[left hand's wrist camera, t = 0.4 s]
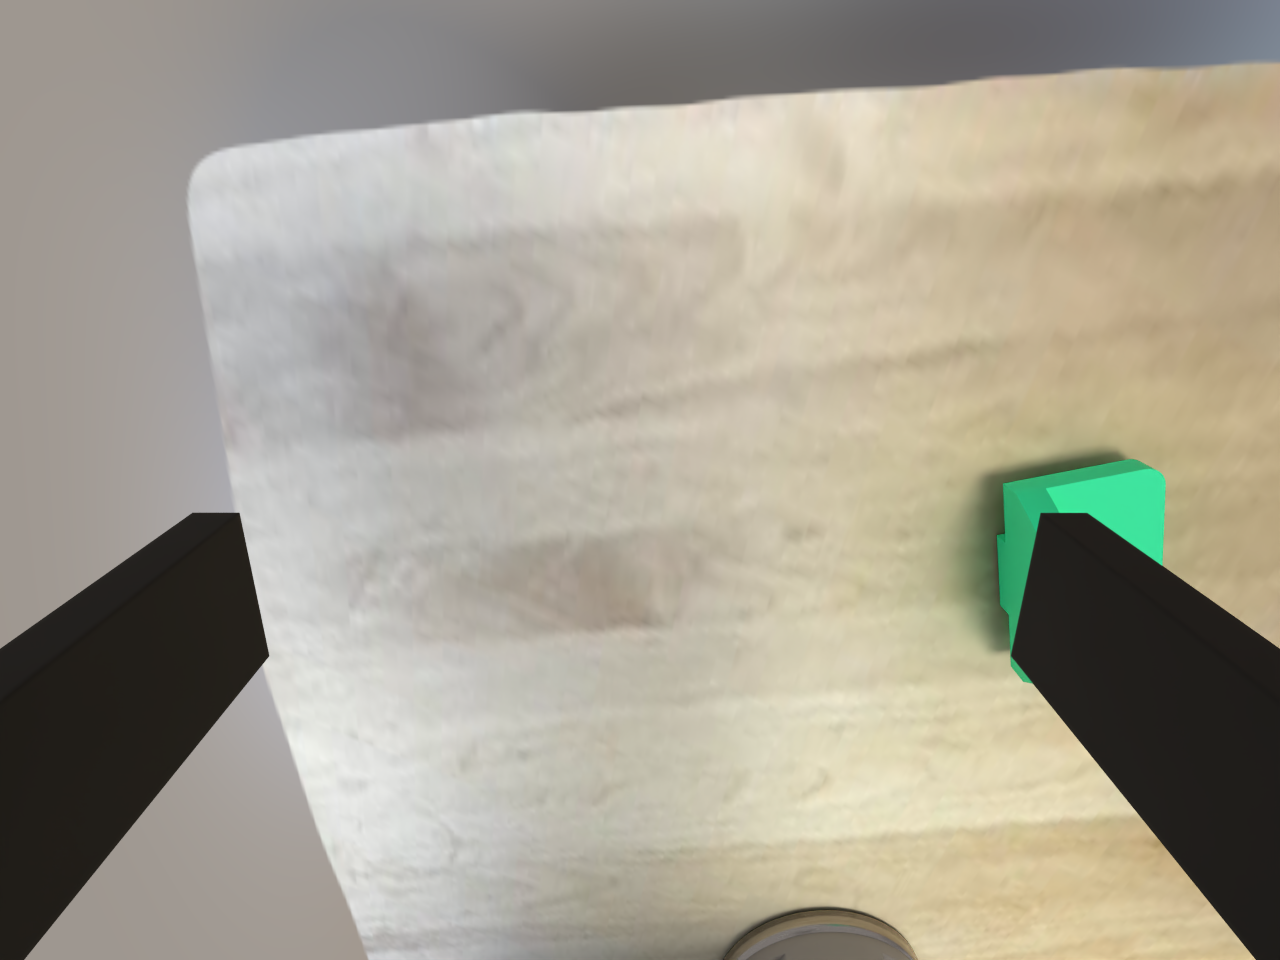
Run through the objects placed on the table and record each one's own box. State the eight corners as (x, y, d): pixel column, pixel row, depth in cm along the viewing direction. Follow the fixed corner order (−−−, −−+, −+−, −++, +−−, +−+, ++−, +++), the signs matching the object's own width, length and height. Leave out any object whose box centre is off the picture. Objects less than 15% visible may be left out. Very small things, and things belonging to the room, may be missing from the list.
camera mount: (1130, 633, 45) (1263, 751, 35) (1002, 655, 46) (1099, 778, 36) (1134, 449, 41) (1287, 526, 31) (994, 476, 41) (1100, 561, 32)
